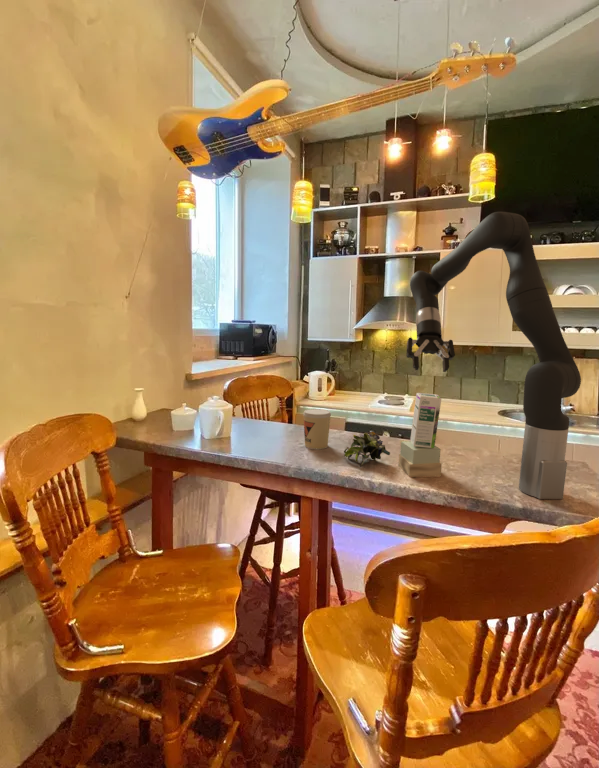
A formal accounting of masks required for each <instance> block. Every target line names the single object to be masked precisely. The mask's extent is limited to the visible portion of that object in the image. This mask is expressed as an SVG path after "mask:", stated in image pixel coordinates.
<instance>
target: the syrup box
mask: <svg viewBox="0 0 599 768" xmlns="http://www.w3.org/2000/svg"><path fill="white" fill-rule="evenodd" d="M441 404H442V398H441V396H440V395H438V394H437V393H436V394H434V393H424V392H416V395H415V402H414V408H413V409H414V410H413V419H412V425H411V432H410V438H409V439H410V440H409V441H411V442H412V444H413V446H414V447H425V448H433V449H434V447H435V446H436V439H437V431H438V426H439V425H438V424H439V418H440V412H441Z"/></svg>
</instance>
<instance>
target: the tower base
mask: <svg viewBox="0 0 599 768" xmlns="http://www.w3.org/2000/svg"><path fill="white" fill-rule="evenodd" d="M398 467H399V468H400V470H402V471H403V472H404V474H405V475H406V476H408V477H409V478H425V477H426V478H429V477H430V478H431V477H441V475H442V462H440V463H426V464H412V463H411V462H409V461H408V460H407V459H405V458H404V457H403V456H401V455H400V453H398Z"/></svg>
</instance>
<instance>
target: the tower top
mask: <svg viewBox="0 0 599 768" xmlns="http://www.w3.org/2000/svg"><path fill="white" fill-rule="evenodd" d="M441 450H442V449H441V448H440V447H438V446H436V445H435V447H434V449H433V448H425V447H414V446H413V444H412V442H411V440H407V441H404V440H403V441H401V442H400V453H399V454H400V455H401V456H403V457H404V458H405V459H407V460H408V461H409V462H411V463H412V464H426V463H441V460H440V459H441Z"/></svg>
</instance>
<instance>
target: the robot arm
mask: <svg viewBox="0 0 599 768" xmlns="http://www.w3.org/2000/svg"><path fill="white" fill-rule="evenodd" d="M488 249H493V250H494V249H496V250H502V251H503V252H504V254H505V257H506V260H507V262H508V266H509V267H508V268H509V276H508V281H507V283H506V284H507V285H506V287H505V289H506V290H505V299H506V302H507V306H508V309H509V312H510V316H511V318H512V320H513V322H514V324H515V325H516V326H517V327H518V329H519V330H520V332H522V333H523V335H524V336H525V337H526V338H527V340H528V341H529V342H530V344H531V345H532V346H533V348H534V350H535V352H536V355H537V357H538V362H536V363H535V364H533V365H531V366H530V367H529V369H528V370H527V373H526V374H525V377H524V383H523V384H524V386H523V403H522V404H523V405H522V408H523V414H524V416H525V422H524V423H525V425H524V433H523V443H522V451H521V459H520V460H521V461H520V469H519V470H520V471H519V481H518V489H519V490H520V491H521V492H522V493H524V494H526V495H529V496H532V497H535V498H536V499H538V500H563V499H564V494H565V485H566V476H567V468H568V467H567V466H568V462H567V460H566V453H567V445H568V439H569V438H568V436H569V435H568V434H569V428H570V417H569V416H567V415H566V414H565V413H563V411H562V403H563V402H562V401H563V400H562V399H565V398H570V397H573V396H574V395H576V393H577V392H578V391H579V390H580V388H581V382H582V378H581V373H580V370H579V368H578V366H577V364H576V362H575V359H574V357H573V355H572V353H571V351H570V349H569V348H568V345H567V343H566V341H565V338H564V335H563V334H562V330H561V328H560V324H559V322H558V318H557V316H556V313H555V310H554V307H553V303H552V299H551V298H550V294H549V292H548V289H547V287H546V284H545V282H544V279H543V276H542V273H541V270H540V266H539V263H538V261H537V258H536V254H535V250H534V245H533V241H532V235H531V232H530V227H529V223H528V221H527V220H526V218H525V217H524V216H523V215H521V214H519V213H515V212H508V211H495V212H492V213H490V214H489V215H487V216H486V217H485V218H483V219H482V221H481V222H479V223H478V224H477V226H476V227H474V229H473V230H472V231H471V232H470V233H469V234H468V235H467V236H466V237H464V239H463V240H462V241H461V243H459V244H458V245H457V246H456V247H455V248H454V249H453V250H452V251H450V252H449V253H448V254H447V255H445V256H444V257H443V258H441V259H440V260H439V261H437V262H436V263H435V264H434V265H433V266H432V267H431V271H430V272H428V271H425V270H417V271H416V272H414V273H413V274H412V275H411V277H410V282H409V287H410V291H411V295H412V297H413V299H414V300H413V301H414V302H415V305H416V317H415V319H416V321H415V322H416V323H415V326H416V339H413V338H412V337H408V339H407V341H406V358H410V359H412V368H413V369H414V370H415V371H418V370H419V368H420V360H419V357H420V355H421V354H422V353H424V355H427V354H430V355H436V356H437V357H438V358H440V359H441V360H442V362H441V363H442V372H443V373H446V372H447V371H448V370H449V368H450V361H452V360H454V357H455V356H456V353H455V346H454V341H453V340H452V339H449V340H443V336H442V335H443V333H442V321H441V320H442V318H441V315H440V306H439V305H440V304H439V299H438V297H437V295H438V294H440V292H441V291H442V290H443V288H444V287H445V286H446V285H447V284H448V283H449V281H451V280H453V279H454V278H456V277H457V276H458V275H460V274H461V273H463V272H464V271H465V270H466V269H467V268H468V266H469V264H470V262H471V260H472V259H473V258H474V257H475V256H476V255H477V254H479V253H482V252H483V251H486V250H488ZM415 345H416V346H417V350H416V351H415V352H413V347H414V346H415ZM443 346H444V347H445V348H443ZM445 349H446V350H447V352H446V350H445Z"/></svg>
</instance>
